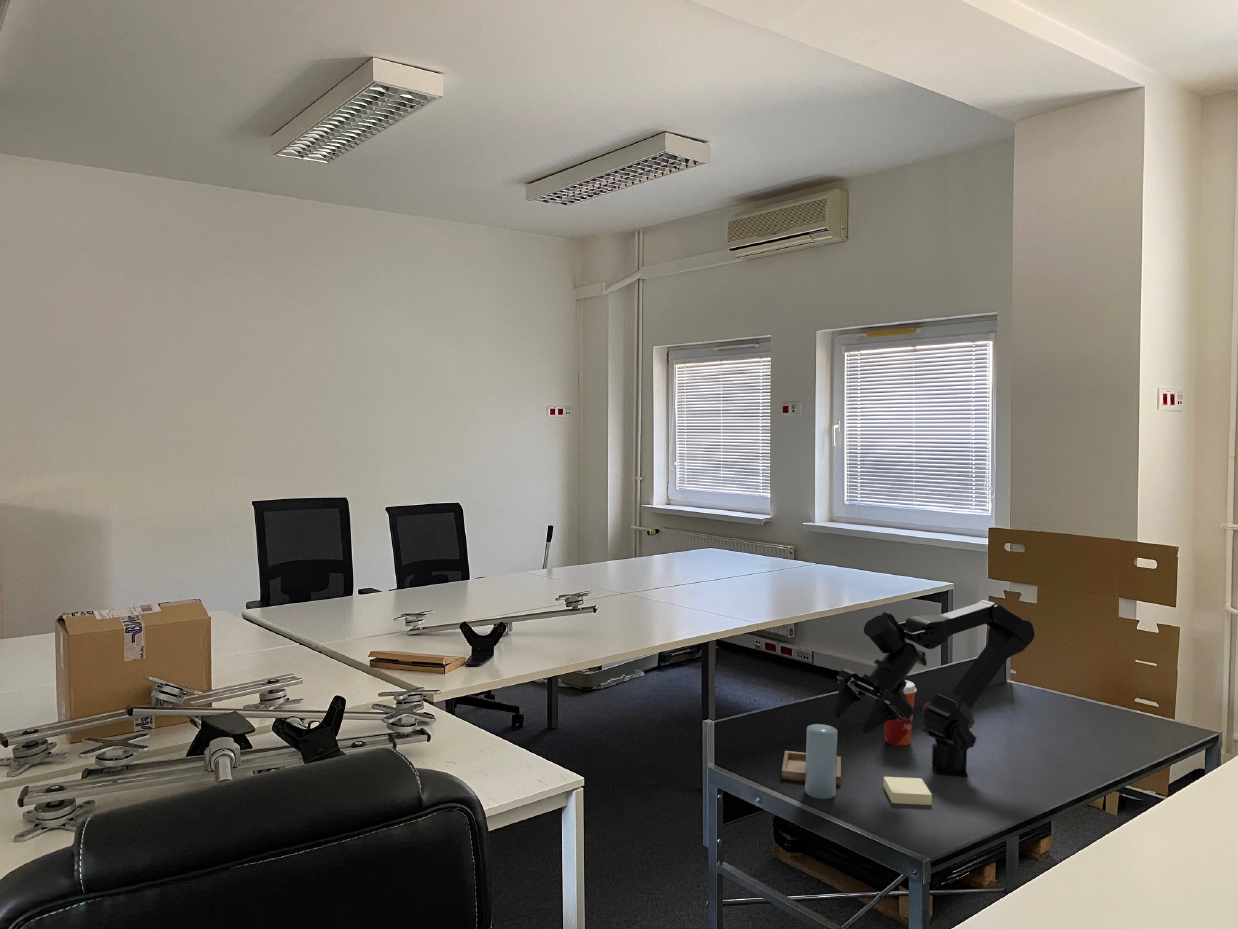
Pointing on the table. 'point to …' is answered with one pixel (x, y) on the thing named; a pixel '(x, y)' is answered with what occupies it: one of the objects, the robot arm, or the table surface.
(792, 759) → the tray
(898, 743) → the paper cup
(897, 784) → the sticky note pad
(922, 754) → the table surface
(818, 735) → the pale blue cylinder
